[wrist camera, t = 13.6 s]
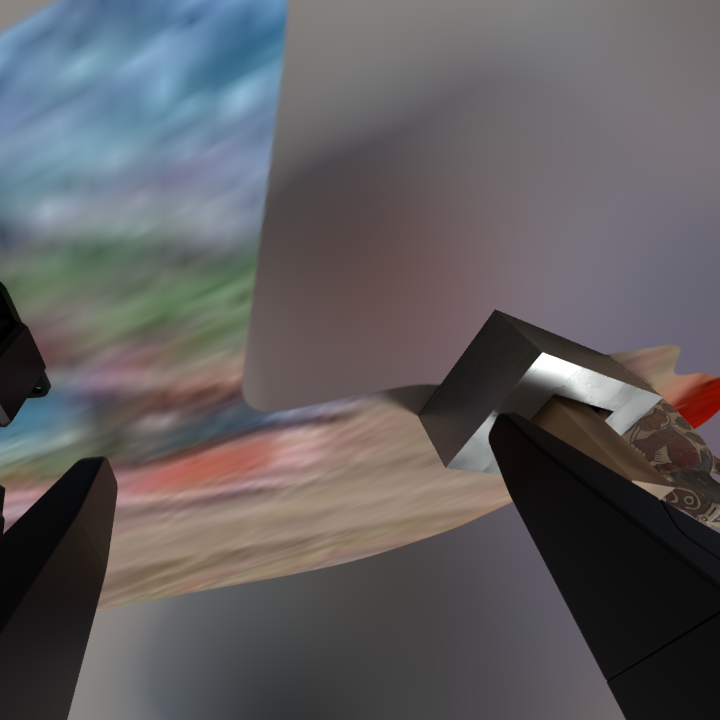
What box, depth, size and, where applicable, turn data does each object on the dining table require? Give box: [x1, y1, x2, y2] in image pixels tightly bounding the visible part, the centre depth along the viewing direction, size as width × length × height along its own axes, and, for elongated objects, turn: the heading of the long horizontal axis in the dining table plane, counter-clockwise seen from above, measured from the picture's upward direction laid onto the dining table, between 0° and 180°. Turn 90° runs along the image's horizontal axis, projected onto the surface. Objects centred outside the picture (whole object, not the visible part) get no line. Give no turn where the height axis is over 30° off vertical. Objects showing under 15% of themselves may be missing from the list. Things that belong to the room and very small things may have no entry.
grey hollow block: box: [418, 310, 663, 475], centre depth 28 cm, size 14×10×5 cm
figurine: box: [621, 398, 720, 528], centre depth 33 cm, size 7×7×12 cm
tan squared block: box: [529, 394, 675, 500], centre depth 26 cm, size 5×4×11 cm
